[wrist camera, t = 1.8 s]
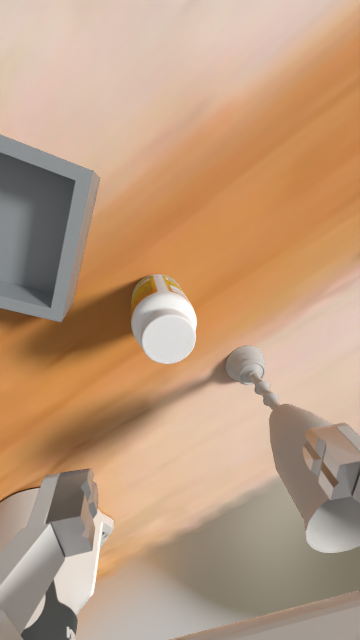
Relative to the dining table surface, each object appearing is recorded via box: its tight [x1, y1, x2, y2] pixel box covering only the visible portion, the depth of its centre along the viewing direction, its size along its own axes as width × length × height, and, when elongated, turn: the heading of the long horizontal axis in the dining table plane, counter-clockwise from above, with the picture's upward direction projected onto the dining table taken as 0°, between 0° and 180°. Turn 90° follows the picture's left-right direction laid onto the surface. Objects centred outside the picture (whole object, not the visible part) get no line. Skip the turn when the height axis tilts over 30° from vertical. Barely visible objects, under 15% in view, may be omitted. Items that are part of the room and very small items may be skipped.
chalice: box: [225, 346, 360, 553], centre depth 25 cm, size 7×7×18 cm
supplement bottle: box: [131, 274, 197, 364], centre depth 23 cm, size 5×5×10 cm
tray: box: [0, 135, 100, 322], centre depth 21 cm, size 12×12×4 cm
